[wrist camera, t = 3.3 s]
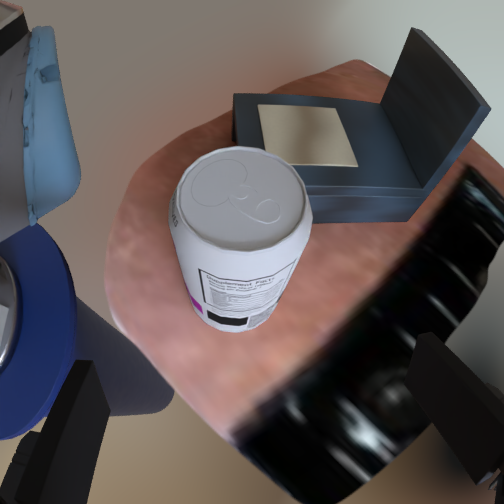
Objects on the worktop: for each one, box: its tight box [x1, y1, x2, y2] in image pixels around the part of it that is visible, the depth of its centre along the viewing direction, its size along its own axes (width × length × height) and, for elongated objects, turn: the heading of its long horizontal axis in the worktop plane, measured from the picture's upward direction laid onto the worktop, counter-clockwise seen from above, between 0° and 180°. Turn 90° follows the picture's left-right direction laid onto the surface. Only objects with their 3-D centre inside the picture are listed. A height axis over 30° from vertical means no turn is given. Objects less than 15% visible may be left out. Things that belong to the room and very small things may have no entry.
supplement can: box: [168, 146, 313, 333], centre depth 24 cm, size 8×8×15 cm
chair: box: [231, 28, 491, 223], centre depth 30 cm, size 20×14×18 cm
